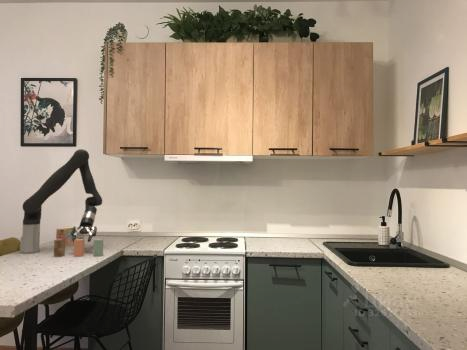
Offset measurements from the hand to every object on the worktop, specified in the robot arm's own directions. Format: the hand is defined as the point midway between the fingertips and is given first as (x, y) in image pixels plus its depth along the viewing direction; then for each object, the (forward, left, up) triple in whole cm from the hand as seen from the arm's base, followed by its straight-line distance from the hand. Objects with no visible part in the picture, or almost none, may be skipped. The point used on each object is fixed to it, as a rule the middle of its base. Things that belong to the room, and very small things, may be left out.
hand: (81, 241), depth 192 cm
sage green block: (+11, -3, -8) cm, 14 cm away
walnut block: (-11, -3, -8) cm, 14 cm away
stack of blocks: (-19, +37, -8) cm, 42 cm away
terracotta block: (0, -3, -8) cm, 9 cm away
